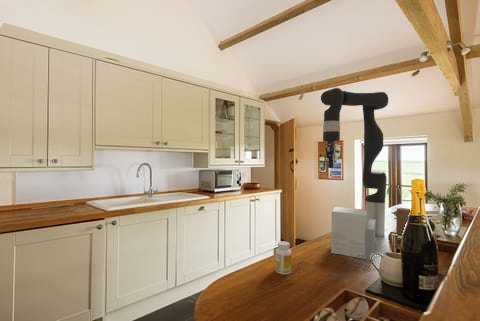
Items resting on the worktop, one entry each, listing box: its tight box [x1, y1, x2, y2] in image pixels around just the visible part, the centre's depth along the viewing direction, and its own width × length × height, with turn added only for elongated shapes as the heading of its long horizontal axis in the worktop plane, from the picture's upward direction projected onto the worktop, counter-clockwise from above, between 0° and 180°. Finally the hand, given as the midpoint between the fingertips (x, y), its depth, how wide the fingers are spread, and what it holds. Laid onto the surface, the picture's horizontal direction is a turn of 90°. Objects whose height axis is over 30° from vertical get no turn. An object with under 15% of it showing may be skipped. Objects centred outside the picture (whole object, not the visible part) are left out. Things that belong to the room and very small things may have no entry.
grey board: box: [365, 218, 376, 261], centre depth 108 cm, size 22×2×12 cm, turn 150°
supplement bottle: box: [274, 240, 293, 276], centre depth 87 cm, size 5×5×10 cm
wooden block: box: [395, 207, 411, 235], centre depth 110 cm, size 9×4×18 cm, turn 40°
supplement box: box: [330, 206, 367, 260], centre depth 108 cm, size 13×13×18 cm
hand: (330, 167), depth 120 cm, fingers closed
